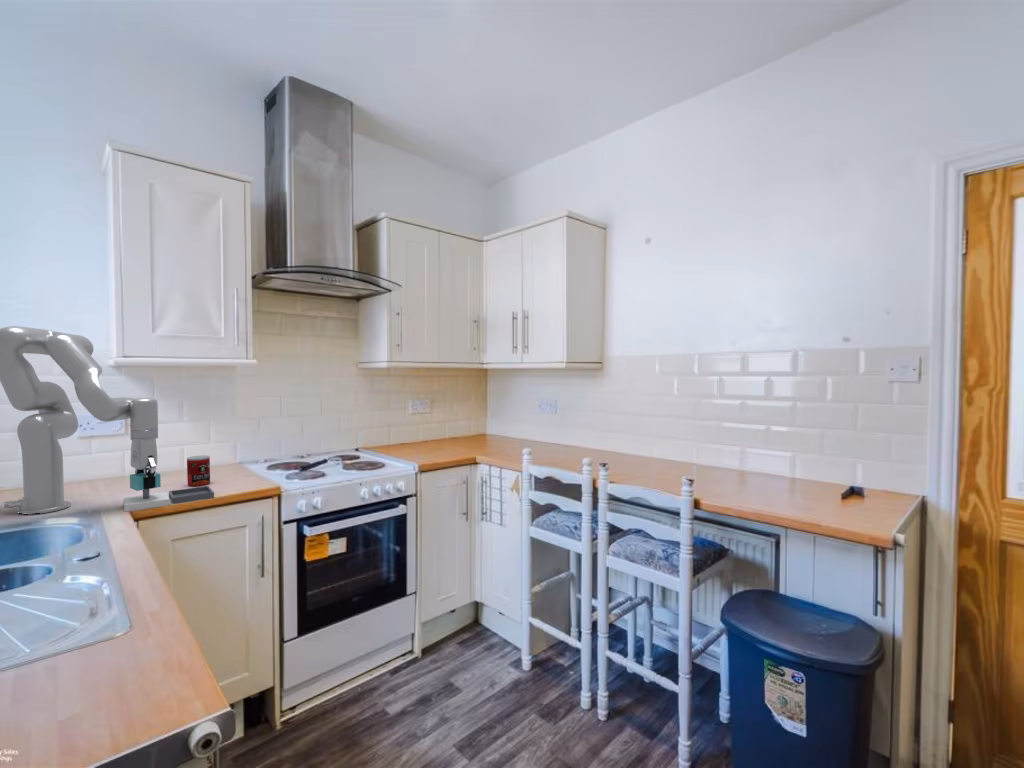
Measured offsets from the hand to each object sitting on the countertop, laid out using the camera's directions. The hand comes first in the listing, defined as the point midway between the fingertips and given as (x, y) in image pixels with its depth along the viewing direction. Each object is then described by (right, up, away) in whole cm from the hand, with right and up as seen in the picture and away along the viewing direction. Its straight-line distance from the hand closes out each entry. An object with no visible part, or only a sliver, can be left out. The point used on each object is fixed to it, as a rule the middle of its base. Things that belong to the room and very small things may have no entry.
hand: (145, 486), depth 166 cm
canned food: (0, -5, +29) cm, 29 cm away
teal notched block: (0, 0, 0) cm, 0 cm away
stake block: (0, -6, 0) cm, 6 cm away
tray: (+10, -6, +9) cm, 15 cm away
